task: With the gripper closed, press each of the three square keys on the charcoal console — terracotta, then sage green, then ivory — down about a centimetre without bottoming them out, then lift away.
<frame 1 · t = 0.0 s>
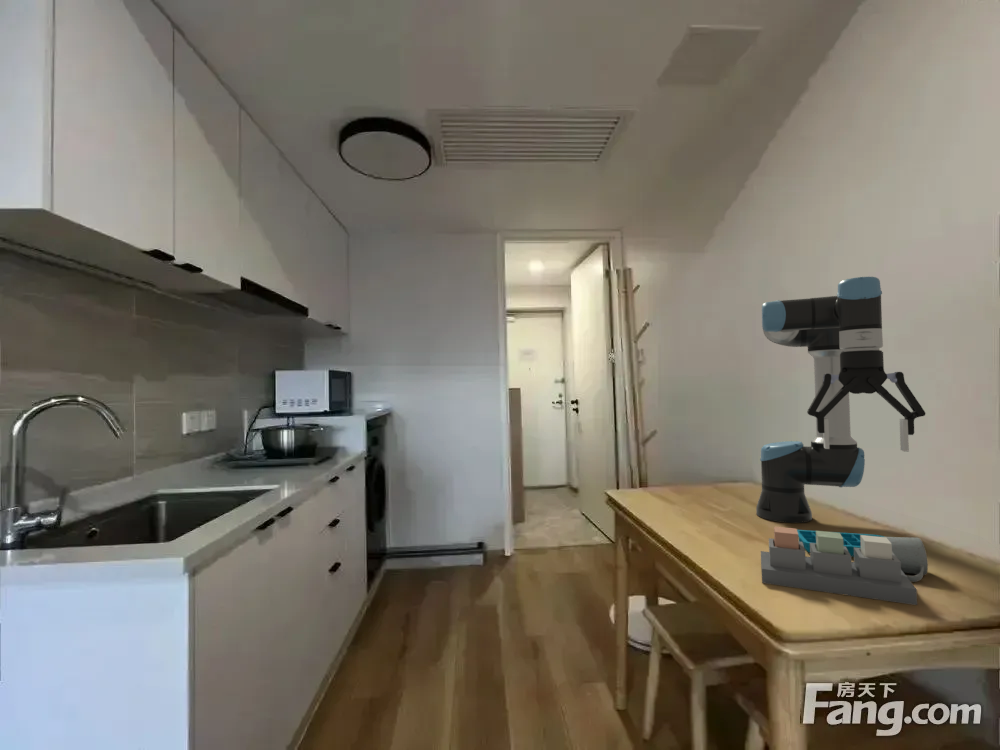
hand: (864, 449, 105), 28 cm above the table, fingers open, 13 cm apart
ice cube tray: (844, 551, 124), on the table
sage key: (829, 545, 105), point 8 cm above the table, slide at 0.0 cm
terracotta key: (786, 540, 108), point 8 cm above the table, slide at 0.0 cm
ivory key: (875, 550, 101), point 8 cm above the table, slide at 0.0 cm
ceramic mug: (904, 574, 109), on the table
console: (830, 582, 105), on the table
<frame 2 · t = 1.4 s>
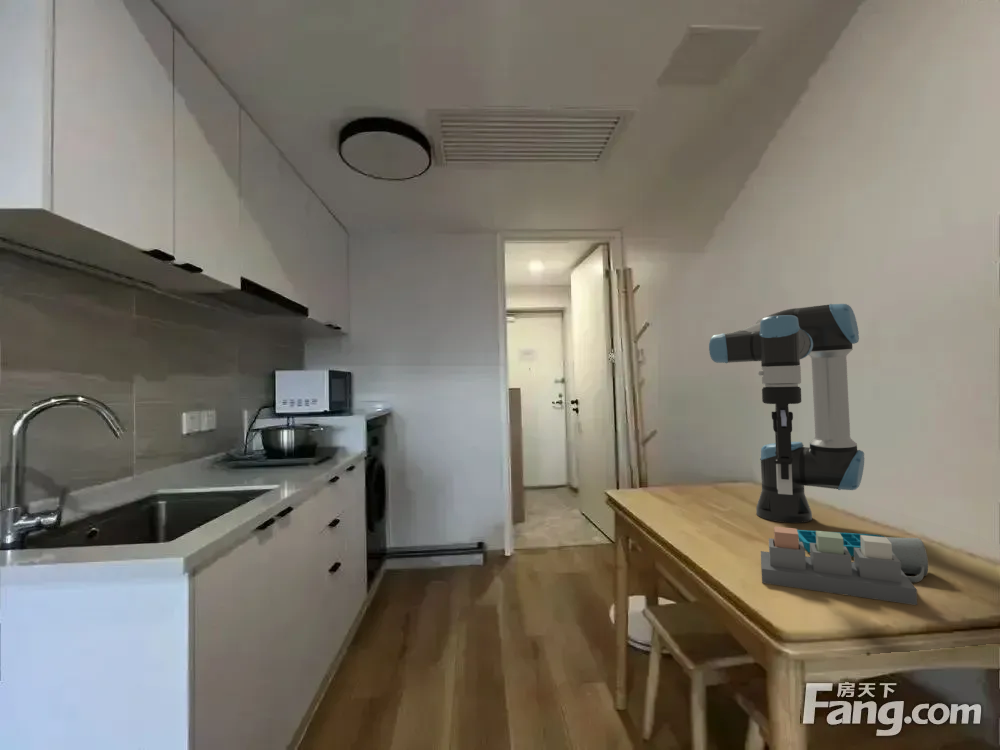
hand: (784, 491, 109), 19 cm above the table, fingers open, 4 cm apart
nothing on the table moved.
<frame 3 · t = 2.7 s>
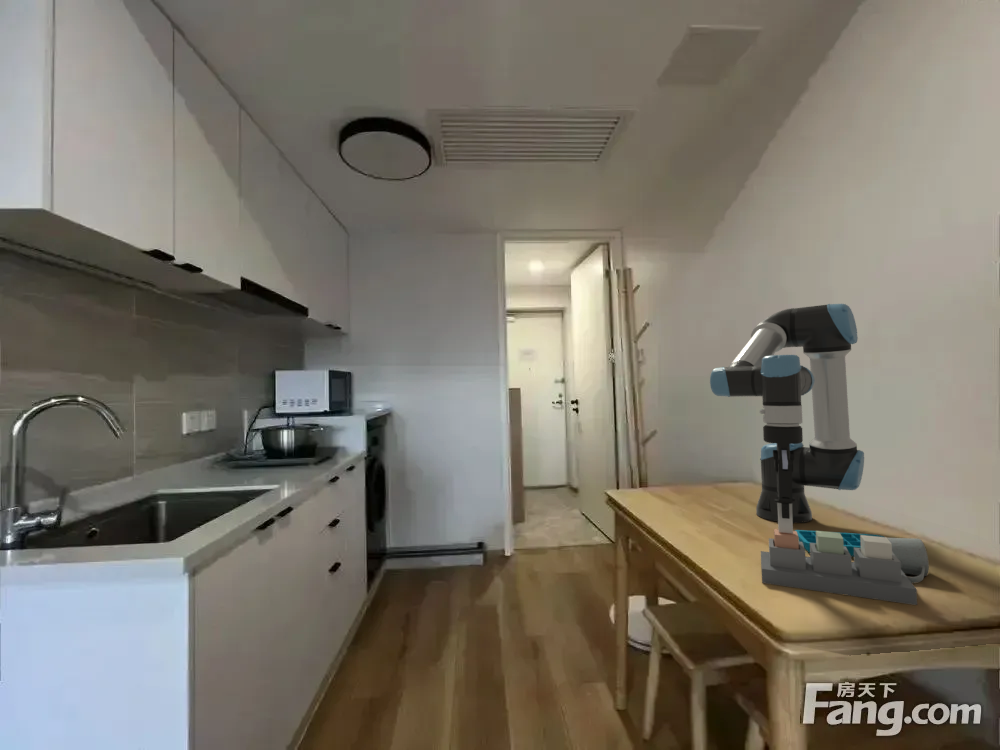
hand: (785, 531, 108), 10 cm above the table, fingers closed
terracotta key: (786, 543, 108), point 7 cm above the table, slide at 0.6 cm, touching gripper
everything else where it was.
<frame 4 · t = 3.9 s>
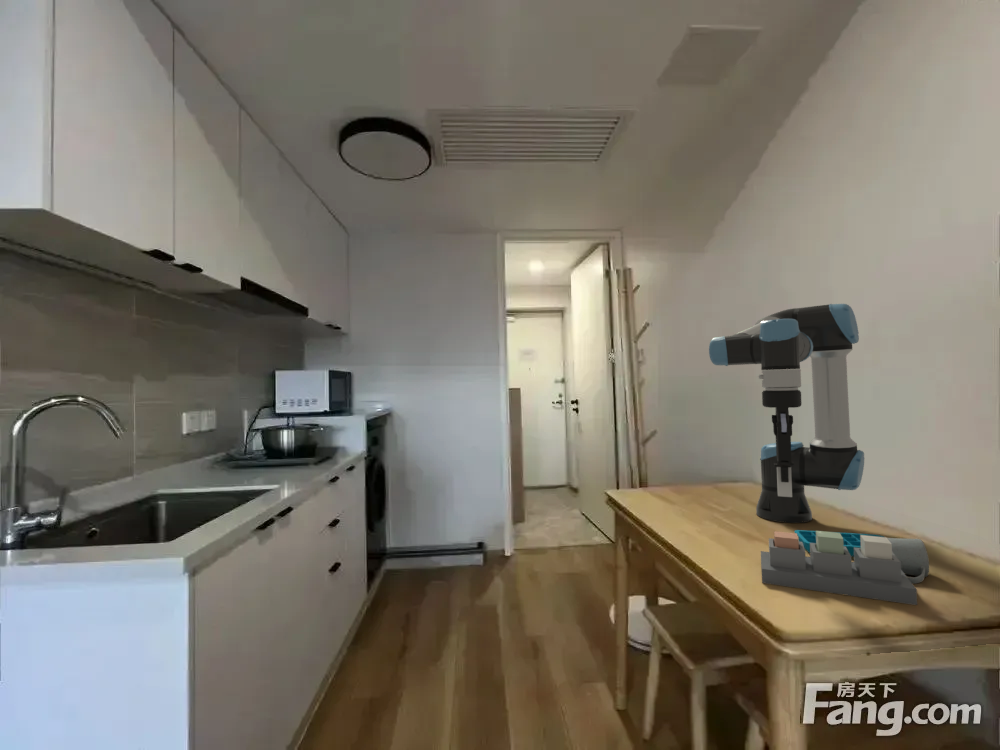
hand: (784, 495, 109), 18 cm above the table, fingers closed
terracotta key: (786, 545, 108), point 7 cm above the table, slide at 1.0 cm
everything else where it was.
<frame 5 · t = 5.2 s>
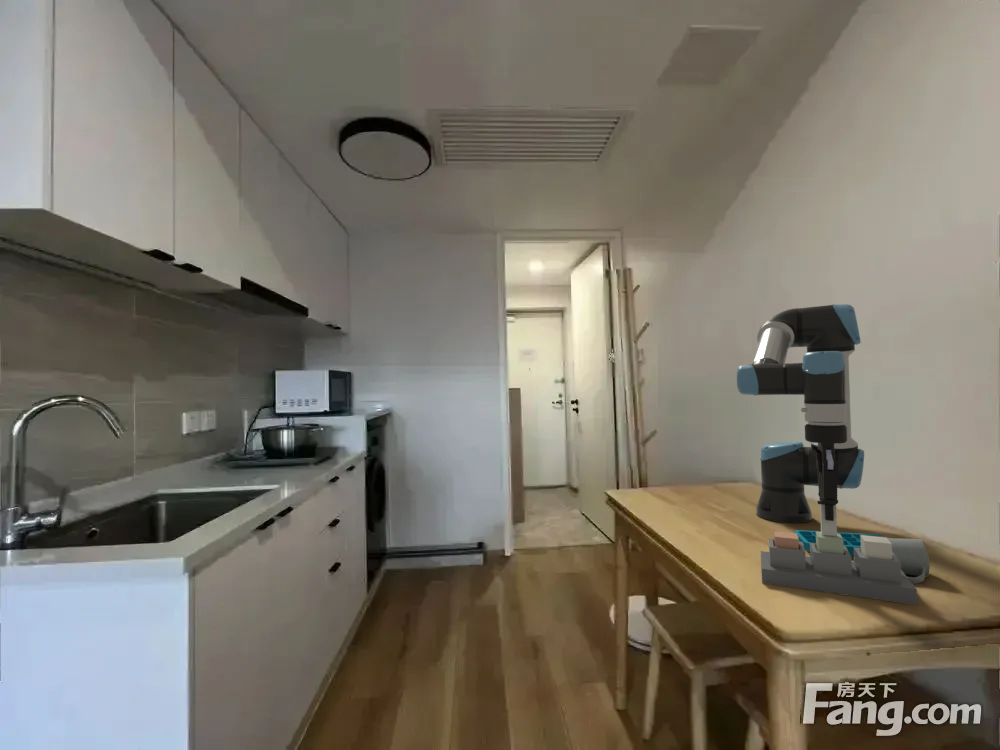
hand: (828, 534, 105), 10 cm above the table, fingers closed
sage key: (829, 546, 105), point 8 cm above the table, slide at 0.2 cm, touching gripper
everything else where it was.
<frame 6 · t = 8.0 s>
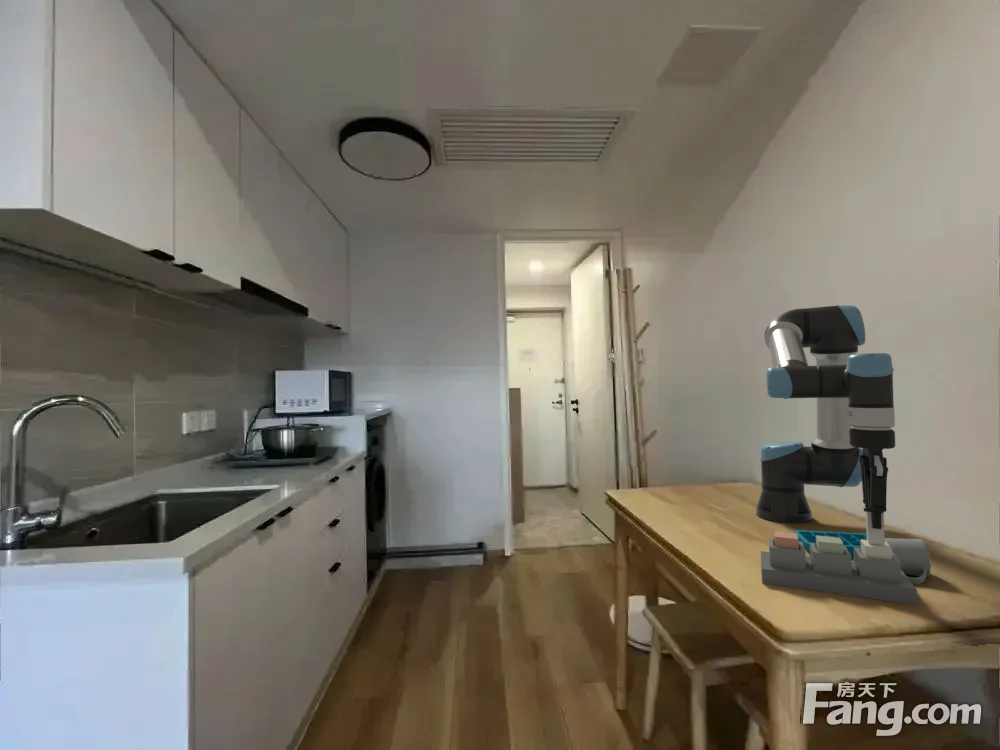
hand: (875, 542, 101), 9 cm above the table, fingers closed
sage key: (829, 550, 105), point 7 cm above the table, slide at 1.0 cm
ivory key: (876, 554, 101), point 7 cm above the table, slide at 1.0 cm, touching gripper
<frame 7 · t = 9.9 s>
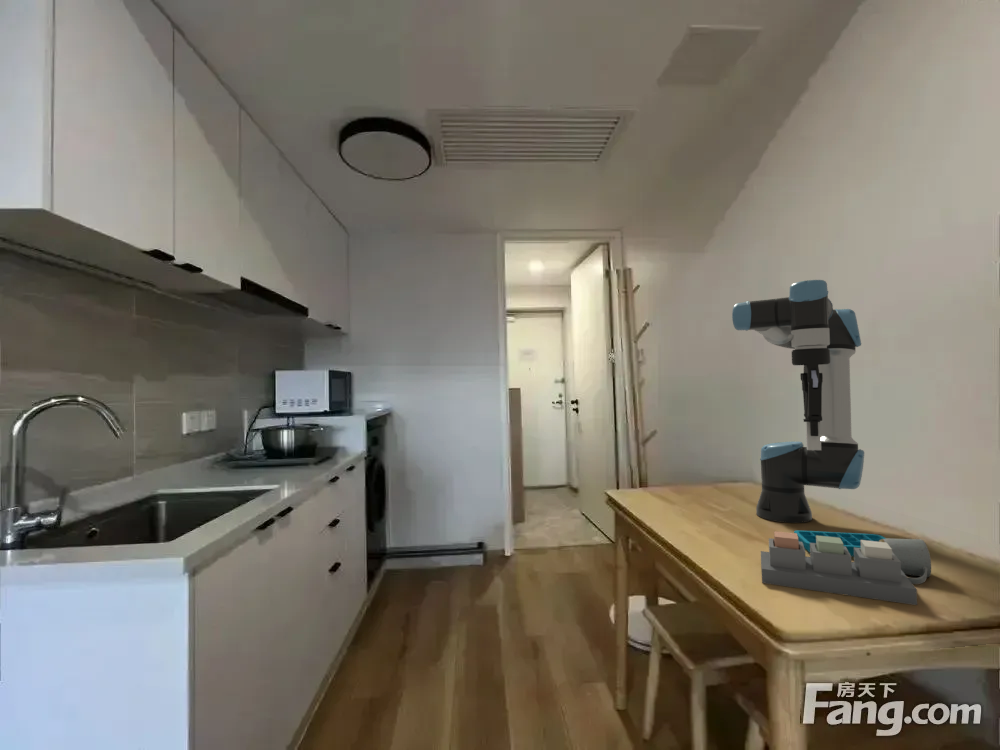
hand: (813, 449, 114), 27 cm above the table, fingers closed
ivory key: (876, 555, 101), point 7 cm above the table, slide at 1.0 cm
ceramic mug: (907, 576, 107), on the table, touching console
everything else where it was.
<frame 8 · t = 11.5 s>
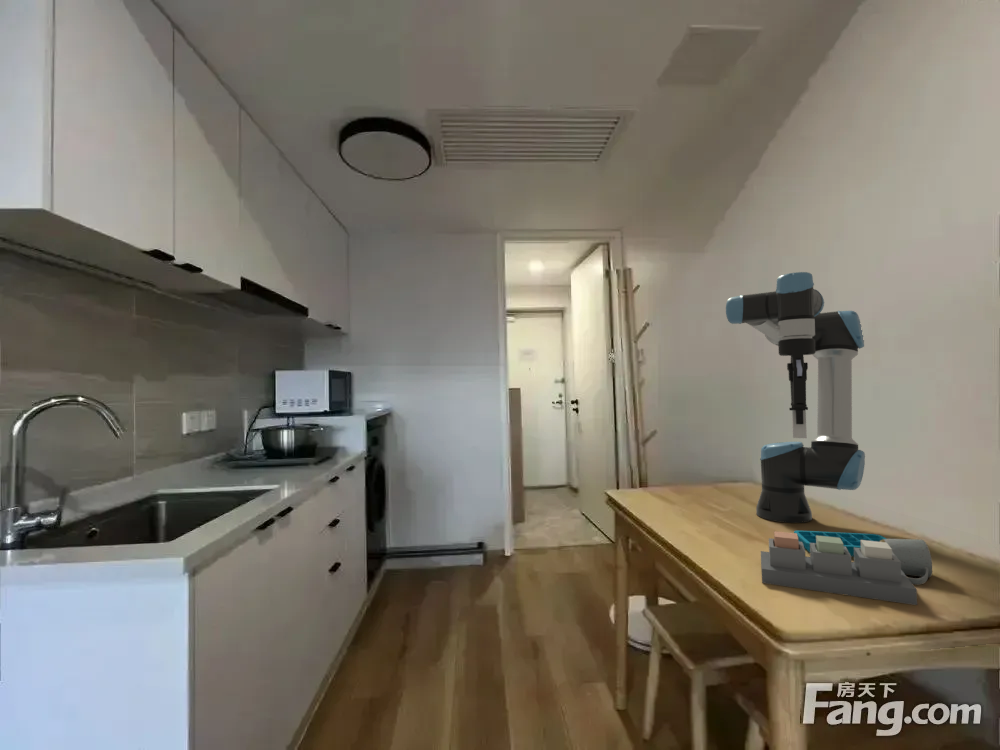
hand: (799, 437, 117), 29 cm above the table, fingers closed
ceramic mug: (908, 577, 107), on the table
everything else where it was.
at the end: terracotta key slide at 1.0 cm; sage key slide at 1.0 cm; ivory key slide at 1.0 cm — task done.
